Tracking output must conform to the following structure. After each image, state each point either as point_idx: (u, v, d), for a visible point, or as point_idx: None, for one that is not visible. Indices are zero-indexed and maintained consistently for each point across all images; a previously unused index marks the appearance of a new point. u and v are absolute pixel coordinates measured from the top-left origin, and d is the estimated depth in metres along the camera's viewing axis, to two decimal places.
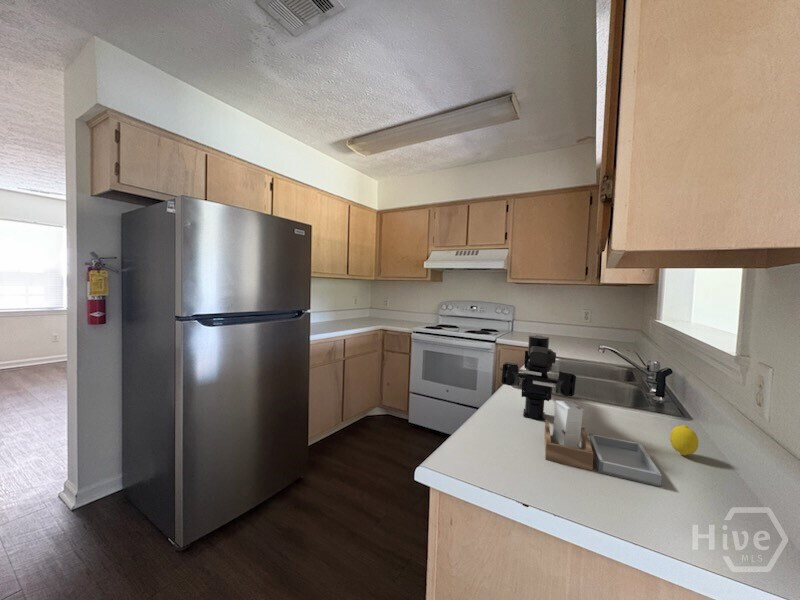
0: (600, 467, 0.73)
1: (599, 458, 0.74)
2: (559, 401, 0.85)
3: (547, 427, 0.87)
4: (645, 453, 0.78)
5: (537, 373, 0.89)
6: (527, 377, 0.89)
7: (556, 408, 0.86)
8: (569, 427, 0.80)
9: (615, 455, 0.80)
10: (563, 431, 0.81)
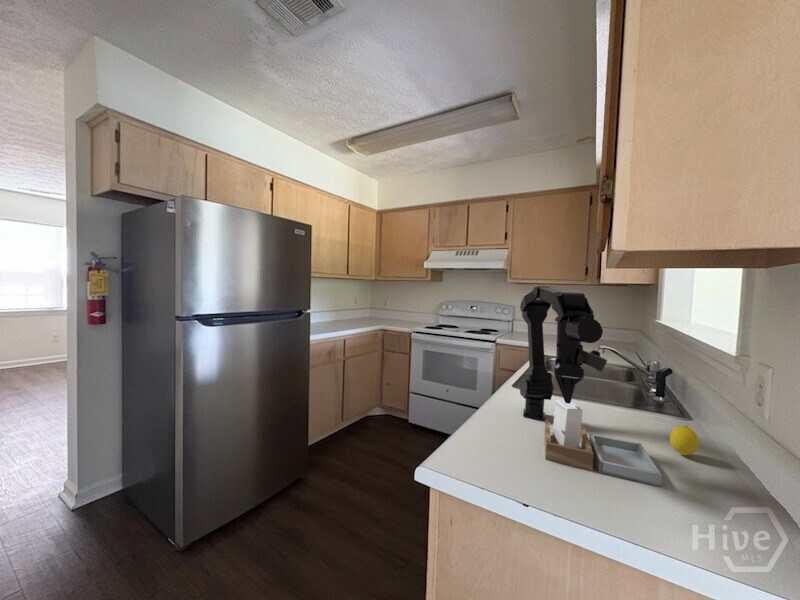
0: (600, 467, 0.73)
1: (599, 458, 0.74)
2: (559, 401, 0.85)
3: (547, 427, 0.87)
4: (645, 453, 0.78)
5: None
6: None
7: (555, 408, 0.85)
8: (569, 427, 0.80)
9: (615, 455, 0.80)
10: (562, 431, 0.81)
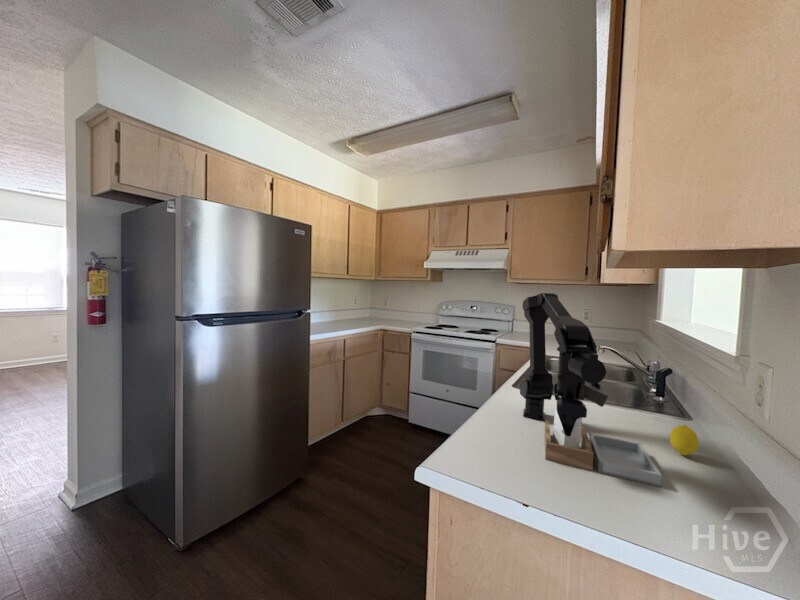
0: (600, 467, 0.73)
1: (599, 458, 0.74)
2: None
3: (547, 427, 0.87)
4: (645, 453, 0.78)
5: None
6: None
7: (556, 408, 0.86)
8: None
9: (615, 455, 0.80)
10: (563, 431, 0.81)
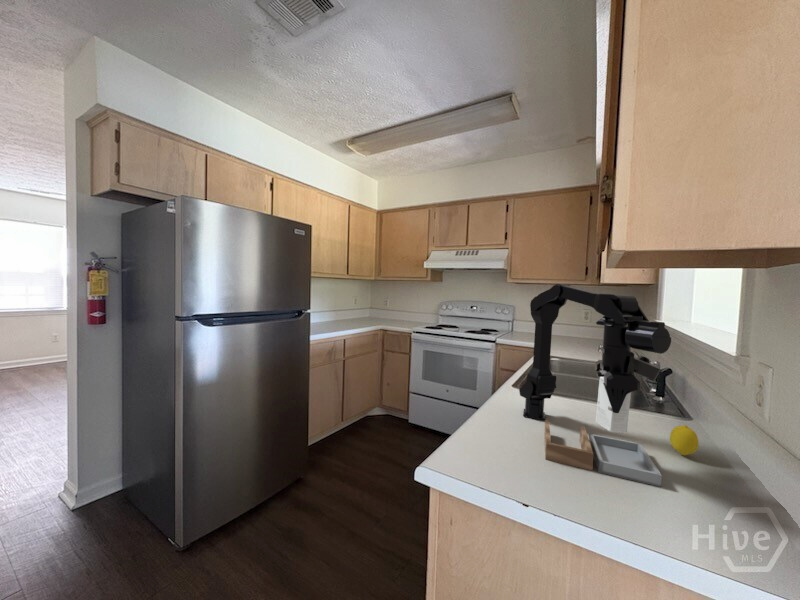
0: (600, 467, 0.73)
1: (599, 458, 0.74)
2: None
3: (547, 427, 0.87)
4: (645, 453, 0.78)
5: None
6: None
7: (600, 385, 0.80)
8: None
9: (615, 455, 0.80)
10: (610, 408, 0.76)
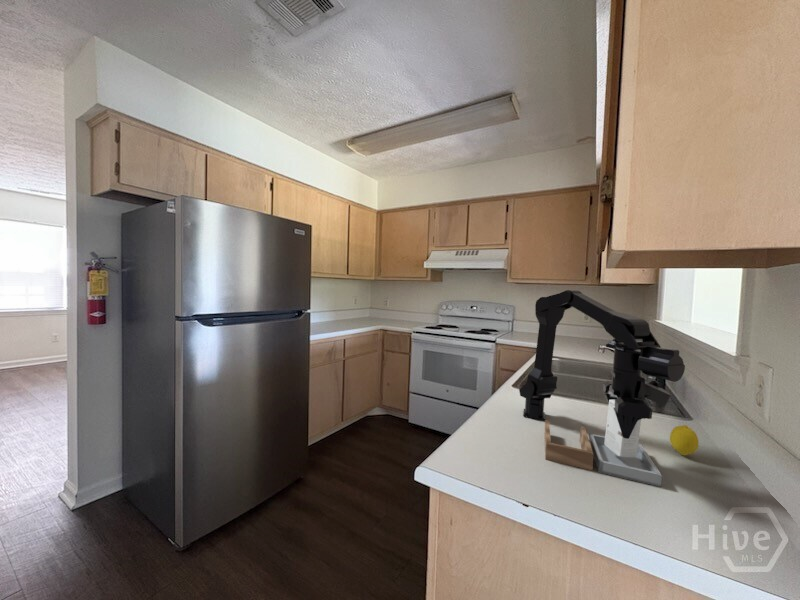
0: (600, 467, 0.73)
1: (599, 458, 0.74)
2: (613, 400, 0.79)
3: (547, 427, 0.87)
4: (645, 453, 0.78)
5: None
6: None
7: (609, 408, 0.80)
8: None
9: (615, 455, 0.80)
10: (619, 433, 0.76)
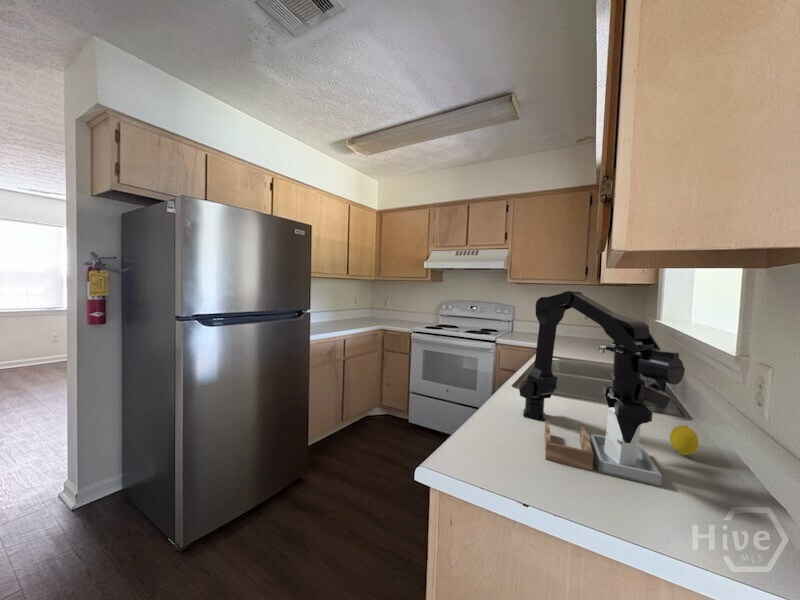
0: (600, 467, 0.73)
1: (599, 458, 0.74)
2: (612, 408, 0.79)
3: (547, 427, 0.87)
4: (645, 453, 0.78)
5: None
6: None
7: (608, 416, 0.80)
8: None
9: None
10: (619, 441, 0.76)
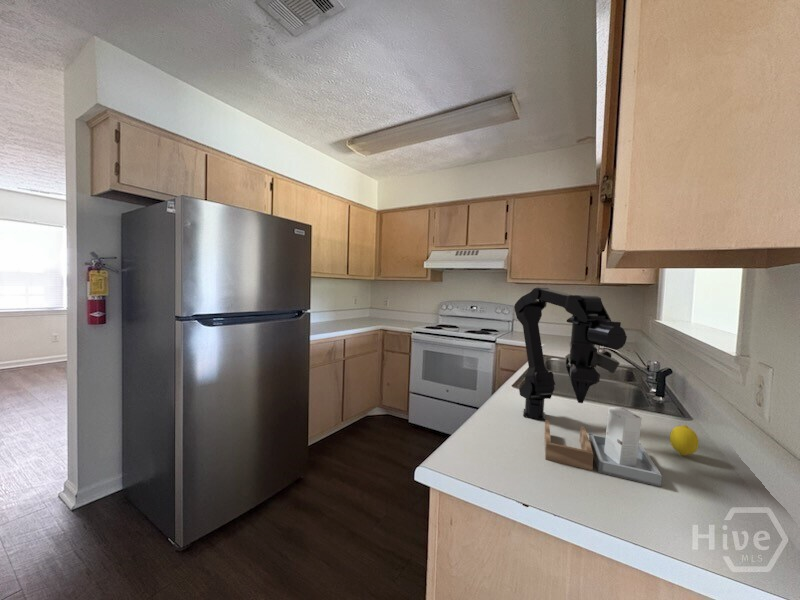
0: (600, 467, 0.73)
1: (599, 458, 0.74)
2: (613, 408, 0.79)
3: (547, 427, 0.87)
4: (645, 453, 0.78)
5: None
6: None
7: (609, 416, 0.80)
8: (626, 437, 0.75)
9: None
10: (619, 441, 0.76)
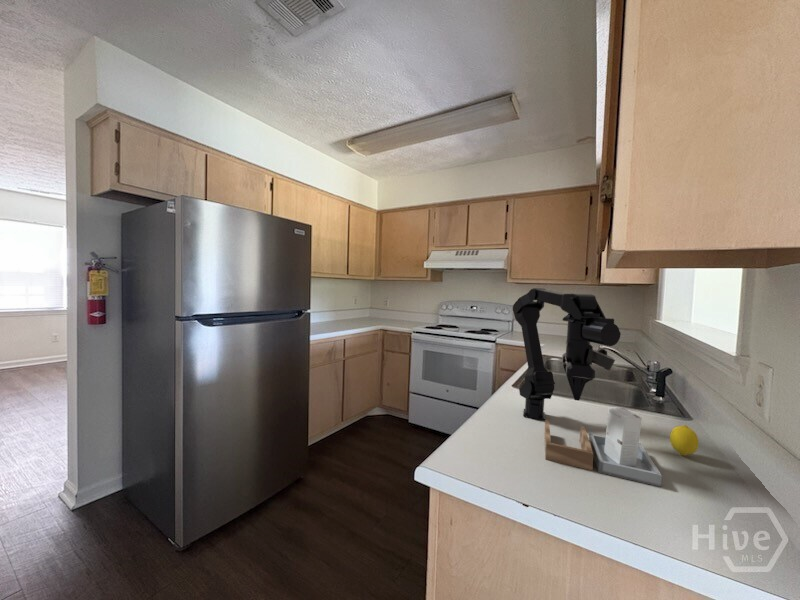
0: (600, 467, 0.73)
1: (599, 458, 0.74)
2: (613, 408, 0.79)
3: (547, 427, 0.87)
4: (645, 453, 0.78)
5: None
6: None
7: (609, 416, 0.80)
8: (627, 437, 0.75)
9: None
10: (619, 441, 0.76)
